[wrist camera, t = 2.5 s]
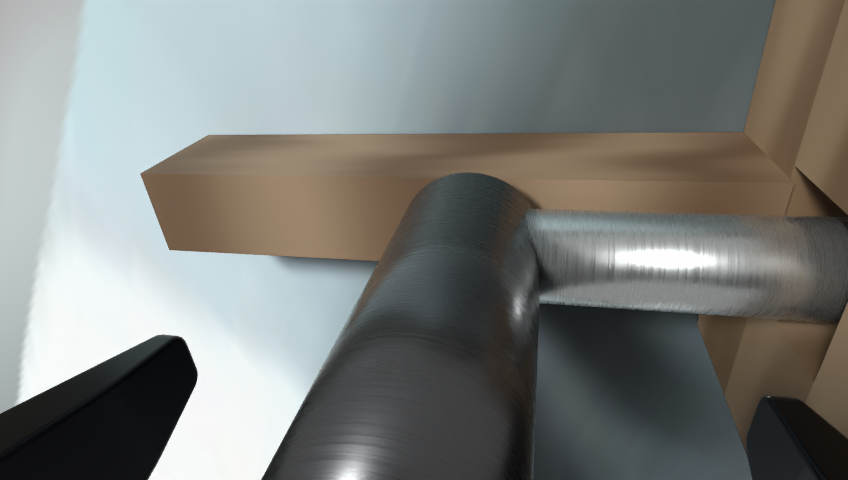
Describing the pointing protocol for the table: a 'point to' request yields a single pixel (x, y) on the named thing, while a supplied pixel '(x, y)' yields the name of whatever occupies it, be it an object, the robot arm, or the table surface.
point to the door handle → (524, 320)
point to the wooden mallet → (565, 194)
